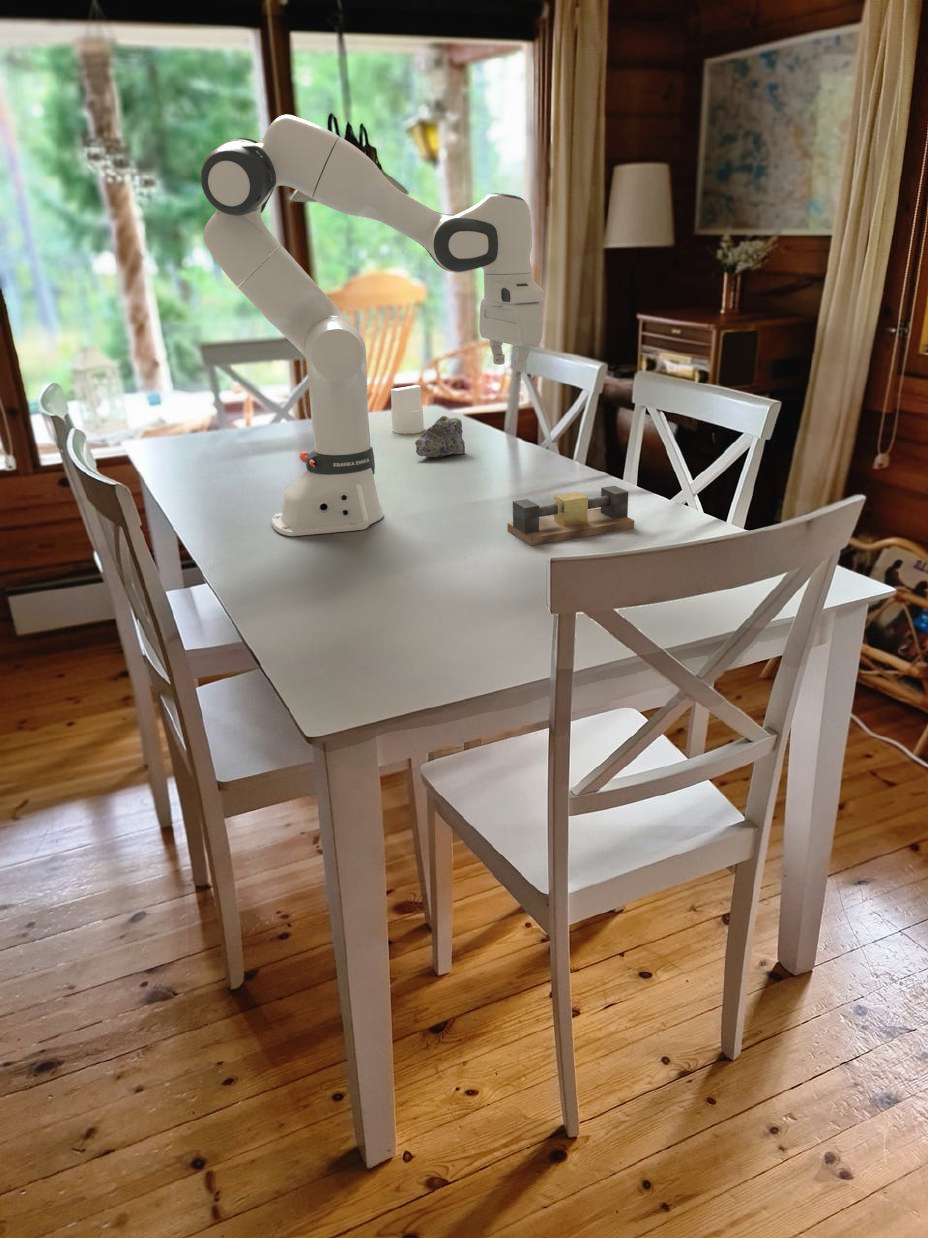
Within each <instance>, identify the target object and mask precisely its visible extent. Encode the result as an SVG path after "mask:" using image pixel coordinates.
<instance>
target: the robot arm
mask: <svg viewBox="0 0 928 1238" xmlns="http://www.w3.org/2000/svg"><path fill="white" fill-rule="evenodd" d="M200 185H201V188H202V191H203V194H204V196H205V198H206V199H207V200H208V202H209V203H210V204H211V206H213V208H215V209H216V210H215V212H214V214H212V216H211V217H210V218H209V220H207V223H206V224H205V228H204V232H203V240H204V241H203V242H204V244H205V246H206V248H207V250H208V251H209V253H210V254H211V256H212V258H214V260H215V261H216V263H217V264H218V265H219V268H221V270H222V271H223V272H224V274H225V275H226V276H227V277H228V278H229V280H230V281H231V282H232V283H233V284H234V286H236V287H237V288H238V289H239V291H240V292H241V293H243V295H244V296H245V297H246V299H248V300H249V301H250V302H251V303H252V305H253V306H254V307H255V308H256V309H257V310H258V311H259V312H260V313H261V314H262V315H263V316H264V318H266V320H268V322H270V324H272V325H273V326H274V327H275V328H276V329H277V330H278V331H279V332H280V333H281V334H282V335H283V336H284V337H285V338H286V339H287V340H288V341H289V342H290V343H291V344H292V345H293V346H294V347H295V348H296V349H297V350H298V351H299V352H300V353H301V354H302V355H303V356H304V358H305V360H306V361H305V362H306V370H307V378H308V379H307V380H308V392H309V393H308V394H309V401H310V403H309V404H310V415H311V416H310V417H311V425H312V426H311V427H312V435H313V436H312V437H313V446H314V449H313V450H312V451H311V452H310V453H309V452H308V451H305V450H302V451H300V453H299V454H298V455H299V456H298V458H299V459H300V461H301V462H302V463H304V464H305V467H306V471H305V472H303V474H301V476H299V477H298V478H297V479H296V480H295V481H294V482H293V483H292V484H291V485H290V486H289V487H287V488H286V489H285V490H284V492H283V495H282V500H281V512H279V513H275V514H274V515H273V516H272V517H271V525H272V528H273V529H274V530H275V531H276V532H277V533H279V534H282V535H284V536H287V537H297V536H298V537H299V536H311V535H320V534H331V533H341V532H352V531H362V530H366V529H368V528H369V526H370V525H372V524H374V523H376V522H378V521H380V520H381V519H382V518H383V517H384V510H383V509H382V506H381V502H380V499H379V496H378V491H377V486H376V483H375V471H376V470H375V469H376V464H375V461H376V460H375V454H374V448H373V446H371V434H370V420H369V405H368V399H369V398H368V395H369V394H368V370H367V369H368V368H367V365H368V364H367V348H366V343H365V341H364V339H363V337H362V334H361V333H360V332H359V331H358V329H356V327H355V326H354V325H353V324H352V322H351V321H350V320H349V319H348V318H347V317H346V315H345V314H344V313H343V312H342V311H341V310H340V309H339V307H337V305H336V304H335V303H334V302H333V300H331V299H330V297H328V296H327V294H326V293H325V292H324V291H323V290H322V289H321V288H320V287H319V285H318V284H317V283H316V282H315V281H314V280H313V279H312V277H311V276H310V275H309V274H308V273H307V272H306V271H305V270H304V268H303V267H302V266H301V265H300V264H299V263H298V262H297V261H296V260H295V258H294V257H293V256H292V255H291V254H290V253H289V252H288V250H287V249H286V248H285V247H284V246H283V245H282V244H281V243H280V242H279V240H278V239H277V238H276V237H275V236H274V235H273V233H271V231H270V230H269V229H268V227H267V226H266V225H265V222H264V221H263V219H262V213H263V212H264V210H265V208H266V206H267V204H268V202H269V199H270V197H272V194H273V192H274V191H275V188H277V187H280V186H282V187H283V186H284V187H290V188H292V189H294V190H296V191H298V192H300V193H301V194H303V195H305V196H307V197H308V198H310V199H312V200H314V201H316V202H318V203H320V205H323V206H326V207H328V208H331V209H332V210H336V211H338V212H341V213H344V214H346V215H351V216H355V217H361V218H366V219H367V218H368V219H371V220H375V221H378V222H381V223H382V224H385V225H386V226H388V227H390V228H391V229H394V230H395V231H397V232H399V233H401V234H403V235H404V236H406V237H407V238H409V239H411V240H413V241H415V242H416V243H418V244H419V245H420V246H422V247H423V248H424V249H425V250H426V252H427V254H429V257H431V258H432V260H433V261H434V263H435V264H436V265H437V266H438V267H440V268H441V269H443V270H445V271H447V272H451V273H455V274H463V273H464V274H465V273H469V272H471V271H472V270H477V269H481V268H482V269H483V287H484V288H483V290H484V291H483V292H484V293H483V294H484V295H483V298H482V300H480V301H481V302H480V306H479V307H480V308H479V326H478V327H479V334H480V337H481V338H483V339H486V340H489V347H490V351H491V353H492V362H493V364H494V365H497V366H499V365H504V364H505V354H503V353H504V352H503V347H502V345H503V344H507V345H511V346H515V352H516V357H515V360H513V365H514V366H513V367H514V368H513V369H514V370H515V371H519V372H524V371H526V370H527V360H528V357H529V354H530V348H533V347H535V348H536V347H539V346H540V344H541V341H542V338H543V337H542V336H543V322H544V321H543V320H544V319H543V318H544V316H543V307H542V305H541V303H542V302H544V301H545V292H544V289H543V288H542V287H541V286H540V285H539V284H537V282H536V281H535V279H534V278H533V269H532V264H531V253H532V248H533V234H532V233H533V231H532V230H533V229H532V228H533V227H532V218H531V216H532V215H531V211H530V207H529V205H528V203H527V202H526V200H525V199H523V198H522V197H521V196H516V195H514V194H508V193H502V192H501V193H499V192H491V193H488V194H486V195H485V197H483V198H482V199H481V200H480V201H478V202H477V203H476V204H474V205H472V206H471V207H468V208H466V209H464V210H463V211H461V212H459V213H456V214H454V213H453V214H446V213H441V212H438V211H435V210H433V209H431V208H430V207H428V206H427V205H425V204H423V203H421V202H419V201H418V200H417V199H414V198H413V197H411V196H409V195H407V194H406V193H404V192H402V191H401V190H400V189H398V188H397V187H396V186H395V185H393V184H392V183H391V182H390V181H389V179H388V178H387V177H386V176H385V175H384V174H383V172H382V171H381V170H380V169H379V167H378V165H377V164H376V163H375V162H374V161H373V160H372V159H371V158H370V157H369V156H368V155H366V153H364V152H363V151H362V150H360V148H358V147H357V146H355V145H354V144H352V143H351V142H349V141H348V140H346V139H344V138H343V137H342V136H339V135H338V134H337V133H334V132H333V131H332V130H331V131H330V130H329V129H327V128H325V127H323V126H321V125H318V124H316V123H313V122H312V121H309V120H307V119H304V118H301V117H298V116H295V115H292V114H282V115H280V116H278V117H277V118H275V119H274V120H273V121H272V122H271V123H270V124H269V126H268V128H267V129H266V131H265V133H264V136H263V138H262V139H261V141H259V142H257V141H256V140H254V139H250V138H244V137H243V138H242V137H241V138H236V139H230V140H227V141H225V142H223V143H220V144H219V145H218V146H217V147H216V148H215V149H213V150H212V151H211V152H209V154H208V155H207V156H206V157H205V159H204V161H203V164H202V166H201V171H200Z"/></svg>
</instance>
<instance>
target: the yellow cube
mask: <svg viewBox="0 0 928 1238" xmlns="http://www.w3.org/2000/svg"><path fill="white" fill-rule="evenodd" d="M588 499H589V496H586V495H585V494H583V493H580V492H578V491H575V492H570V493H562V494H557V495H554V503H553V504H556V505H557V506H558V514H556V515H553V516H554V521H555V522H557V523H559V524H561V525H562V526H570V525H576V524H582V523H587V522H588V510H589V509H588Z"/></svg>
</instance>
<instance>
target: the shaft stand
mask: <svg viewBox="0 0 928 1238" xmlns="http://www.w3.org/2000/svg"><path fill="white" fill-rule="evenodd" d="M628 508H629V491H627V490H626V489H623V488H621V487H619V486H617V485H612V486H611V485H609V486H603V487H601V488H600V496H596V497H588V522H587V523H582V524H576V525H570V526H562V525H561V524H559V523H557V522H555V521H554V515H556V514H558V506H557V505H556V504H554V503H551V504H546V505H539V504H537V503H535V502H533V501H531V500H529V499H528V498H525V499H518V500H512V522H508V523H507V531H508V532H509V533H511V534H512V535H514V536H515V537H517V538H518V539H519V540H521V541H523V542H524V543H526V544H527V545H529V546H531V547H532V546H537V545H543V544H549V543H554V542H561V541H567V540H572V539H577V538H578V539H579V538H584V537H588V536H589V537H590V536H594V535H596V536H597V535H601V534H605V533H606V534H607V533H613V532H619V531H624V530H629V529H634V528H635V520H634V519H633V518H631V517H628V513H629V509H628Z"/></svg>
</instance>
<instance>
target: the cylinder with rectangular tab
mask: <svg viewBox="0 0 928 1238" xmlns="http://www.w3.org/2000/svg"><path fill="white" fill-rule="evenodd" d="M390 399H391V402H390V403H391V412H390V413H391V426H392V427H391V429H392V432H393V431H395V432H398V433H397V434H399V433H412V434H418V433H421V431H422V432H424V431H425V427H424V426H425V424H424V409H423V402H422V401H423V399H422V386H421V385H415V384H414V385H410V386H409V385H408V386H403V387H398V388H397V387H396V388H390ZM417 432H418V433H417Z"/></svg>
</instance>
